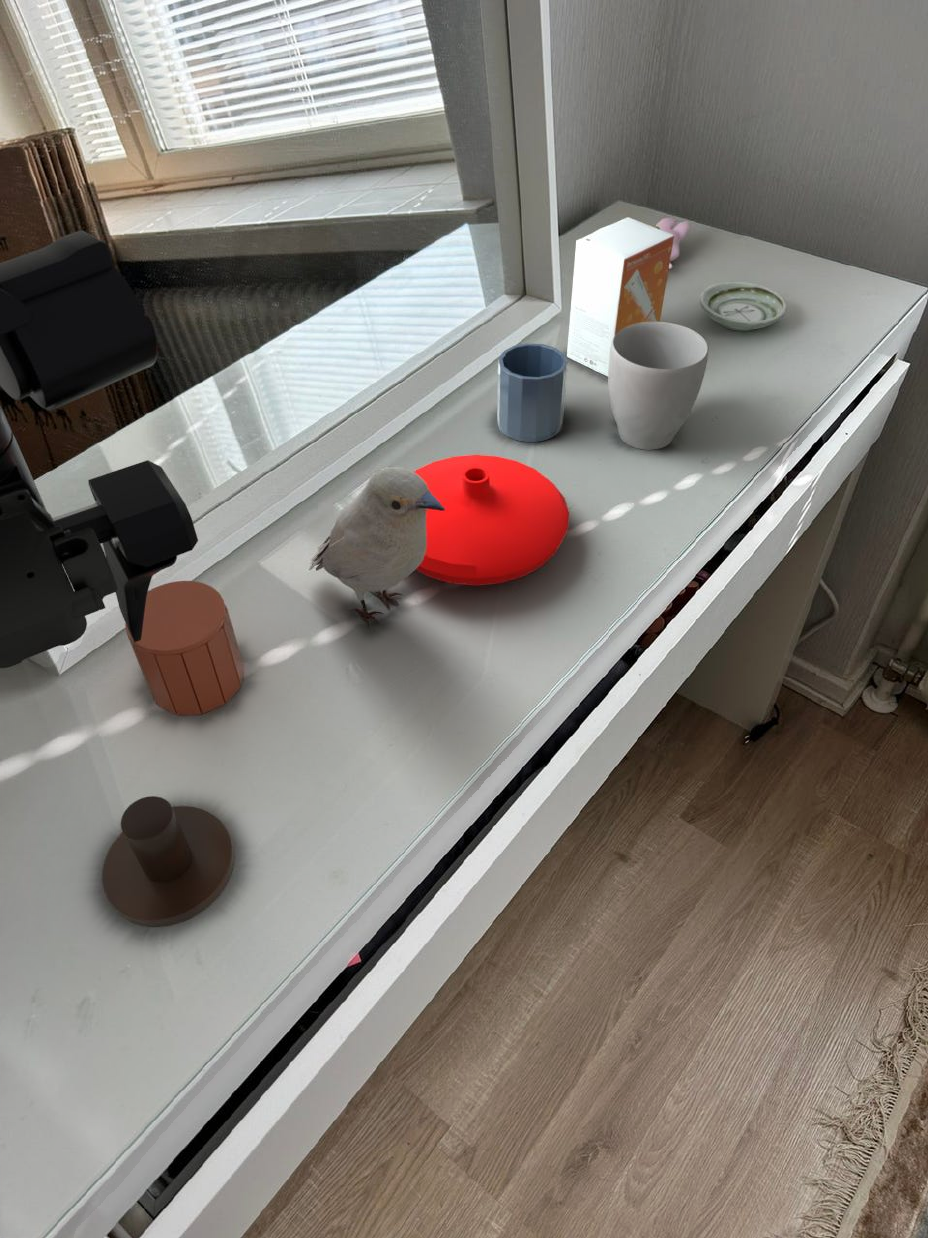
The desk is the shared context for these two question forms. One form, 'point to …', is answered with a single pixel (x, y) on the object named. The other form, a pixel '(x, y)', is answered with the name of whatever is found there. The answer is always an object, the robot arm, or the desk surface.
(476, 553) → the red disc with nozzle
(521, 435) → the slate cup
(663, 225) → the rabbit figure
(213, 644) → the orange ribbed cylinder
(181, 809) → the holder
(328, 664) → the desk surface
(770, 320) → the saucer
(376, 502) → the bird
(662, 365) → the mug
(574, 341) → the small box
